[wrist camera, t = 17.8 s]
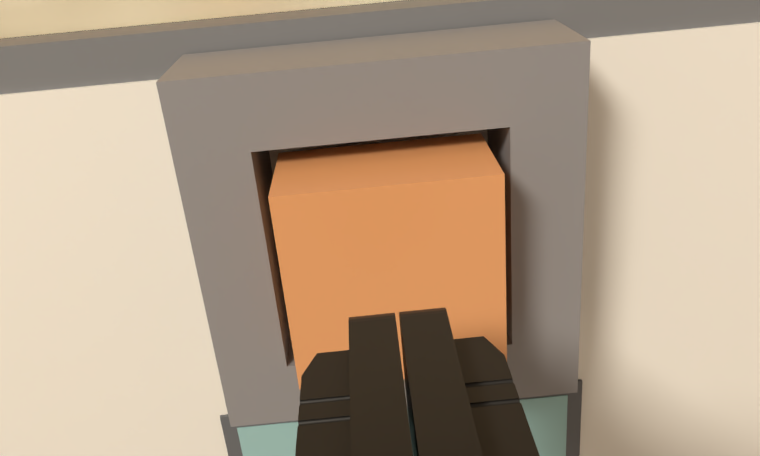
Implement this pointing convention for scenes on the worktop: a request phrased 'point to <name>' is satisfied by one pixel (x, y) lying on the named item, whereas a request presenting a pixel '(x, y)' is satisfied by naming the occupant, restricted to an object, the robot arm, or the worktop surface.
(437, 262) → the button
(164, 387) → the drawing board
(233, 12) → the worktop surface
